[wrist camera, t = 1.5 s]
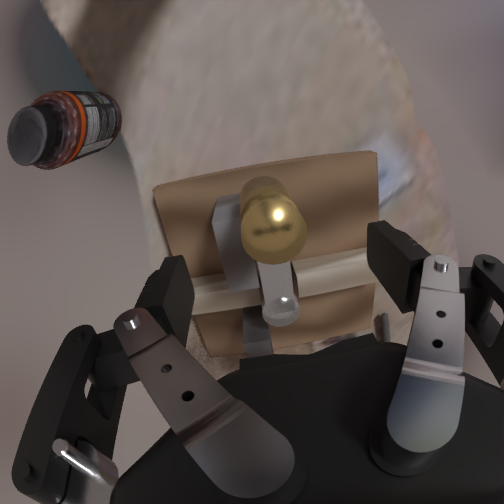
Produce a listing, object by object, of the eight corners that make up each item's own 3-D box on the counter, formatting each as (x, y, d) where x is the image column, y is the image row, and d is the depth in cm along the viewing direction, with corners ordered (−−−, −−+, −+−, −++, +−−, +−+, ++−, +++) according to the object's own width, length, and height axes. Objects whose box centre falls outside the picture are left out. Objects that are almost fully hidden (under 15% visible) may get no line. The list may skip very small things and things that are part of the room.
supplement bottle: (67, 144, 22) (-7, 171, 12) (81, 88, 20) (5, 88, 10) (115, 157, 24) (48, 189, 14) (132, 98, 21) (66, 95, 11)
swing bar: (298, 314, 25) (315, 375, 19) (264, 320, 25) (272, 383, 19) (281, 168, 19) (304, 198, 13) (235, 176, 19) (235, 210, 13)
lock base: (156, 185, 25) (129, 212, 19) (370, 150, 25) (411, 166, 18) (211, 349, 36) (208, 395, 29) (366, 320, 35) (387, 361, 28)
